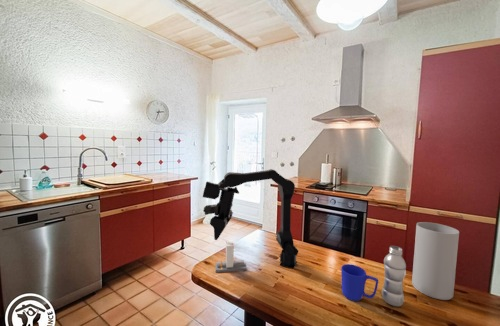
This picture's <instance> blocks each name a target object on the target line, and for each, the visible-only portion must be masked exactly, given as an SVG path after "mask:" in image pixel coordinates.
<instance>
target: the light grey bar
mask: <svg viewBox="0 0 500 326" xmlns="http://www.w3.org/2000/svg"><path fill="white" fill-rule="evenodd" d="M216 263H217V267H226V260H223V261H222V260H220V261H216ZM244 263H245V261H244V260H233V266H244Z"/></svg>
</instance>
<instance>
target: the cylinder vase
mask: <svg viewBox="0 0 500 326" xmlns="http://www.w3.org/2000/svg"><path fill="white" fill-rule="evenodd" d="M459 236H460V231H459V230H458V229H457V228H455V227H451V226H449V225H446V224H445V225H444V224H441V223H436V222H429V221H428V222H427V221H425V222H424V221H421V222H419V221H418V222H416V226H415V241H414V252H413V262H412V263H413V265H412V278H411V285H412V286H413V288H415V289H416V290H417V291H418V292H420V293H421V294H422V295H425V296H427V297H430V298H431V299H432V298H433V299H437V300H441V301H442V300H443V301H449V300H451V299H453V298H454V292H455V290H454V289H455V283H456V282H455V281H456V270H457V269H456V268H457V258H458V249H459V238H460V237H459Z"/></svg>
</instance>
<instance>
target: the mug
mask: <svg viewBox="0 0 500 326" xmlns="http://www.w3.org/2000/svg"><path fill="white" fill-rule="evenodd" d="M340 268H341V269H340V271H341V292H342V295H343V296H344V297H345V298H346V299H348V300H350V301H353V302H354V301H355V302H357V301H361V300H362V299H363V297H365V298H367V299H373V298H374V297H375V296H376V293H377V289H378V286H379V279H378V278H377V277H375V276H372V275H367V272H366V270H365V269H364V268H362V267H360V266H358V265H355V264H347V263H346V264H343V265H341V267H340ZM367 280H372V281H375V285H374V290H373V292H372V293H371V294H367V293H365V289H366V281H367Z"/></svg>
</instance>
